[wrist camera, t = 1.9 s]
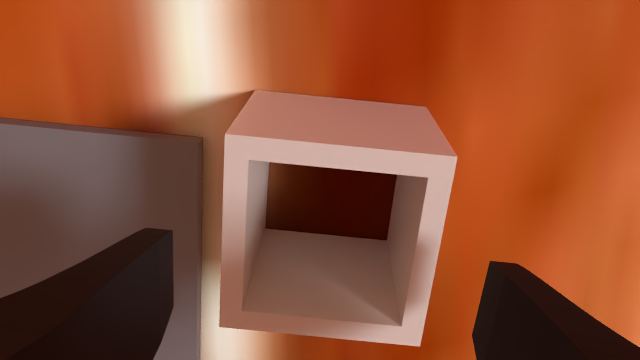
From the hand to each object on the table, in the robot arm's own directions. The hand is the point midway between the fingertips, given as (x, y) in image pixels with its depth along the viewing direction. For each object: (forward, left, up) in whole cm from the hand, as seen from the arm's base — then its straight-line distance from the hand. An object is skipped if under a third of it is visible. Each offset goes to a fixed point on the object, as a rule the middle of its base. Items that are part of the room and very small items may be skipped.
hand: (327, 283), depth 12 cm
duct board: (+11, +8, -7) cm, 15 cm away
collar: (0, 0, -7) cm, 7 cm away
